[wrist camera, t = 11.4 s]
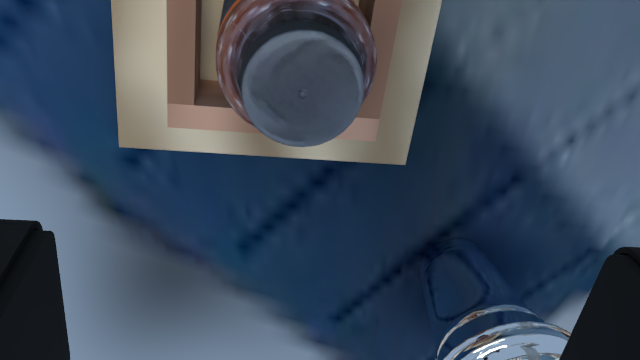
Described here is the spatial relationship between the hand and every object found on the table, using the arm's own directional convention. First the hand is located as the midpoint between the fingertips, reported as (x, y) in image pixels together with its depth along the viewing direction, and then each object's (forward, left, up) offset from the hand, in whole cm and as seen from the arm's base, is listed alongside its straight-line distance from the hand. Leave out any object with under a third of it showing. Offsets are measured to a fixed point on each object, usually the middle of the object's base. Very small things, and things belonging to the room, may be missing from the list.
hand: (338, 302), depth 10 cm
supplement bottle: (0, 0, -21) cm, 21 cm away
